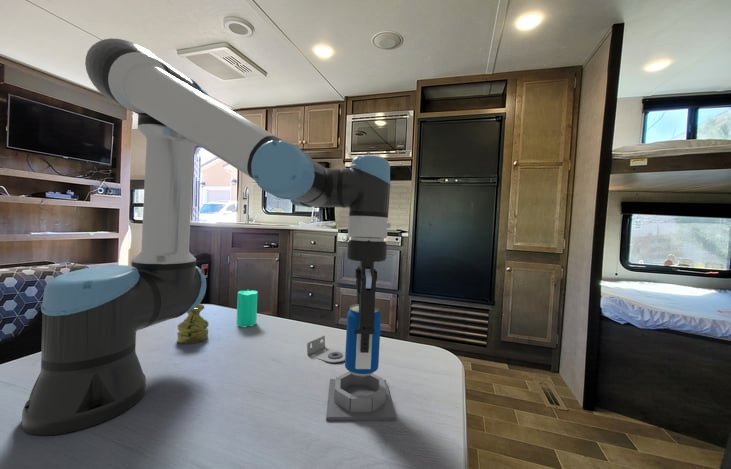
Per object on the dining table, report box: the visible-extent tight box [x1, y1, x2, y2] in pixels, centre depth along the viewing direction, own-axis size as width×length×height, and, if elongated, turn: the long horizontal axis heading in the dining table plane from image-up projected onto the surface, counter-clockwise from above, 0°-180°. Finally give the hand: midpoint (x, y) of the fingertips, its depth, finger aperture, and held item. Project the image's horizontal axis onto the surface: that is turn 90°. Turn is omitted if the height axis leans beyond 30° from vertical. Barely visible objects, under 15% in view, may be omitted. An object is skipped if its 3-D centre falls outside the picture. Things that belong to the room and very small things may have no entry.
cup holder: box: [325, 370, 397, 421], centre depth 54 cm, size 12×12×3 cm
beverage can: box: [344, 303, 382, 376], centre depth 54 cm, size 6×6×12 cm
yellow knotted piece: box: [177, 303, 210, 345], centre depth 77 cm, size 7×7×10 cm
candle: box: [235, 290, 259, 327], centre depth 91 cm, size 6×6×12 cm
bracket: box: [306, 335, 346, 364], centre depth 72 cm, size 7×10×4 cm, turn 57°
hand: (361, 358), depth 54 cm, fingers closed on beverage can, 6 cm apart
